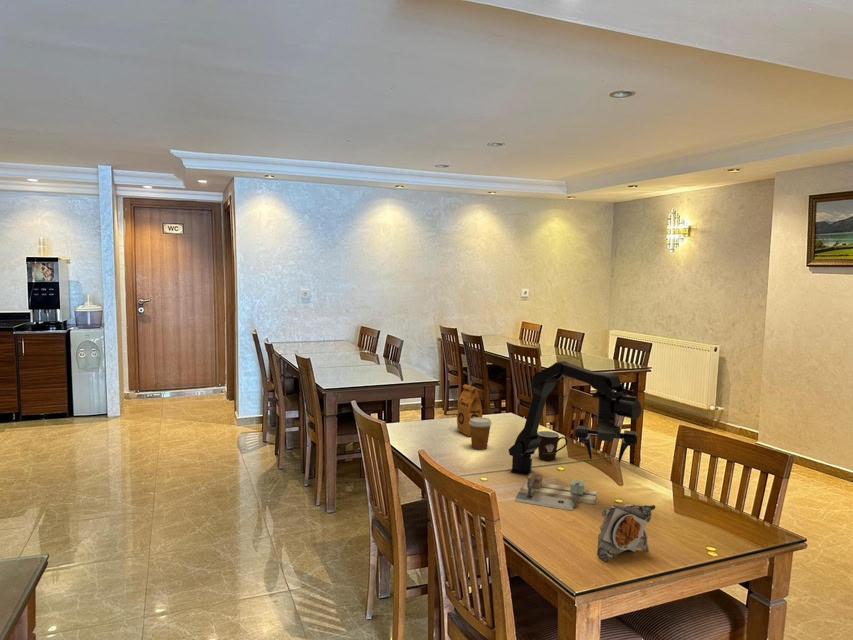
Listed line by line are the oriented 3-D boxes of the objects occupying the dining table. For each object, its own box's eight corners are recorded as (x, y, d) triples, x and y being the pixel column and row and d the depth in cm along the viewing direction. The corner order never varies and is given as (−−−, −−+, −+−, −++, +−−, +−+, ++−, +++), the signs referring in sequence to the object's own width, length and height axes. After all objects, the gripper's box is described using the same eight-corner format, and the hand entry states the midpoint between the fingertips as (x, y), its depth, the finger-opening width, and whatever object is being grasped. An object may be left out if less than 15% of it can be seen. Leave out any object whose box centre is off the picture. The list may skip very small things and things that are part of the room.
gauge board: (516, 498, 182) (517, 483, 182) (524, 484, 195) (525, 470, 195) (593, 511, 174) (594, 496, 173) (596, 495, 186) (597, 481, 186)
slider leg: (567, 501, 176) (567, 491, 176) (571, 488, 188) (572, 479, 187) (580, 503, 175) (580, 493, 175) (584, 490, 186) (584, 481, 186)
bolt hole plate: (515, 501, 180) (515, 497, 180) (518, 494, 186) (519, 491, 186) (572, 510, 174) (572, 507, 173) (574, 503, 179) (574, 500, 179)
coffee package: (464, 438, 250) (466, 389, 248) (454, 430, 261) (455, 384, 260) (485, 436, 253) (486, 388, 251) (474, 429, 265) (475, 383, 263)
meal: (608, 564, 141) (610, 514, 140) (596, 556, 145) (599, 507, 144) (653, 554, 147) (656, 505, 146) (641, 546, 151) (643, 499, 150)
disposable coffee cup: (494, 447, 237) (495, 419, 236) (484, 452, 229) (485, 423, 228) (474, 443, 242) (475, 415, 241) (463, 448, 234) (464, 420, 233)
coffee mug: (534, 460, 221) (535, 435, 221) (538, 454, 229) (539, 430, 229) (564, 464, 217) (565, 439, 216) (567, 458, 225) (568, 433, 224)
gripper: (574, 415, 176) (572, 464, 177) (638, 421, 169) (635, 472, 171) (577, 408, 186) (576, 454, 187) (637, 413, 180) (635, 461, 181)
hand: (604, 460), depth 181 cm, fingers open, 8 cm apart
